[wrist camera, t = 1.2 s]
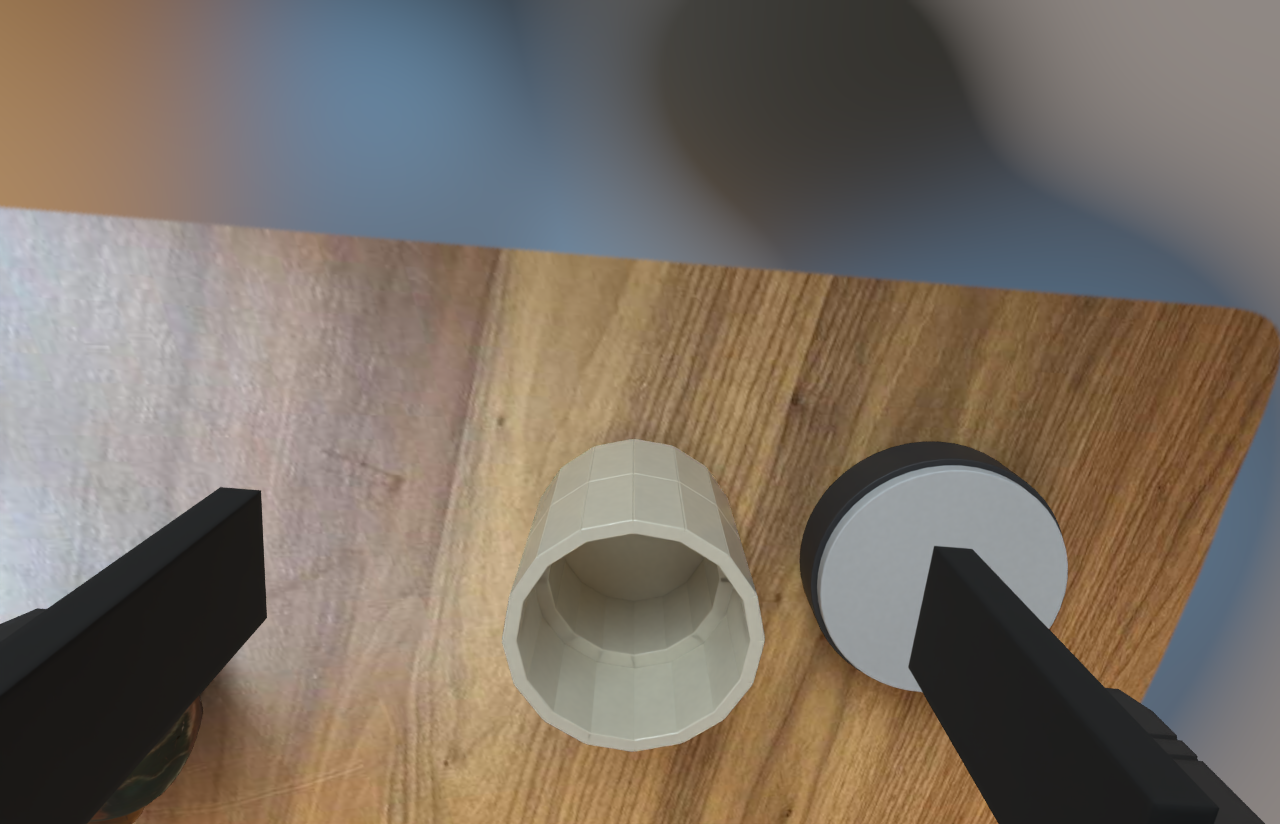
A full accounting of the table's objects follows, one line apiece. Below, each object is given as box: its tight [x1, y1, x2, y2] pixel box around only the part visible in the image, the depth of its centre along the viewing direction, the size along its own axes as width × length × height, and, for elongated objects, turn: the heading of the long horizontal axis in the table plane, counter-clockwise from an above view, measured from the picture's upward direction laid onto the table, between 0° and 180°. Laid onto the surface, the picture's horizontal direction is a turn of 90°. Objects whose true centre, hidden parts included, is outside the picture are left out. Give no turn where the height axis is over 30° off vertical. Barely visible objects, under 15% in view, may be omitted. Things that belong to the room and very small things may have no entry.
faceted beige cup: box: [502, 439, 765, 752], centre depth 36 cm, size 10×10×11 cm
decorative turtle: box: [87, 695, 203, 824], centre depth 40 cm, size 10×15×8 cm, turn 175°
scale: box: [800, 442, 1068, 692], centre depth 40 cm, size 13×13×4 cm
